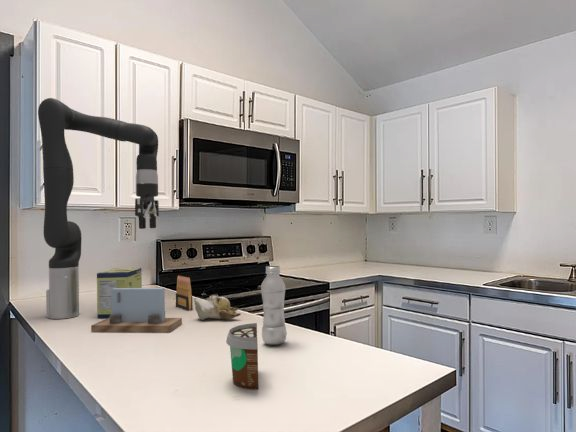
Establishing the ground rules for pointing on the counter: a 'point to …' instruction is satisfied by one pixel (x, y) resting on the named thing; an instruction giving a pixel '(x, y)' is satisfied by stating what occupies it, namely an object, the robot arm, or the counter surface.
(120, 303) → the door
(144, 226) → the robot arm
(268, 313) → the plastic bottle
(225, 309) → the ceramic sculpture
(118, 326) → the cabinet base
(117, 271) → the protein box
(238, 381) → the food container
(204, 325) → the counter surface
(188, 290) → the ammunition clip
